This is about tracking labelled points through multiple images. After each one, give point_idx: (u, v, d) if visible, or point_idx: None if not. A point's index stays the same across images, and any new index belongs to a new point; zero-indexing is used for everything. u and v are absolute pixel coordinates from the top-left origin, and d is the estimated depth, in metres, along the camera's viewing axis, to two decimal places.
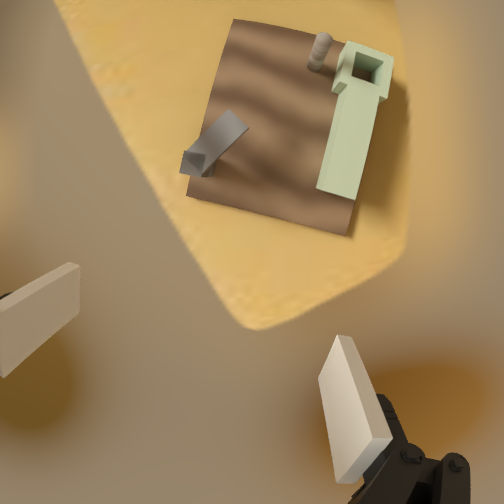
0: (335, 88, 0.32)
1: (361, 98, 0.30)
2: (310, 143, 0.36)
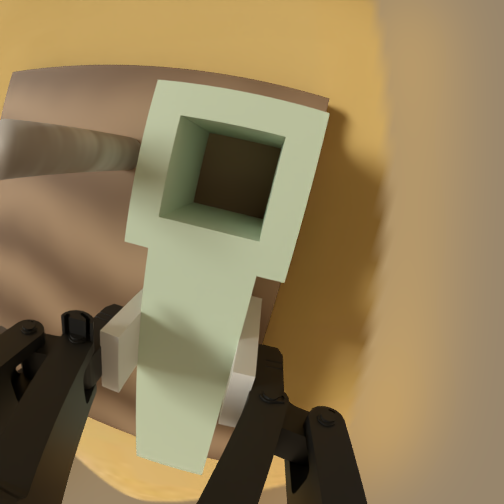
0: None
1: (193, 292, 0.11)
2: None
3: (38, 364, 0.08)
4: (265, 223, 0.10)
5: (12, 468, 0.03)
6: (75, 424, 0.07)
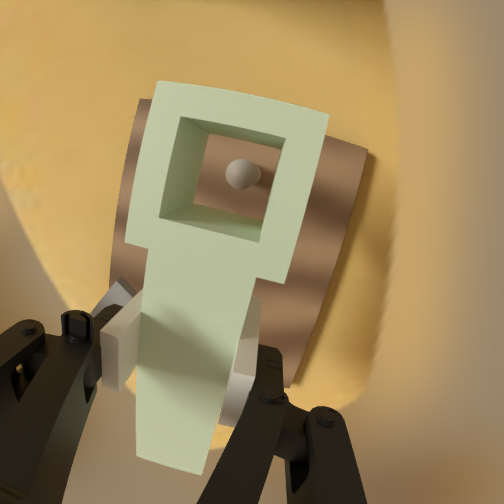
0: None
1: (193, 293, 0.11)
2: None
3: (38, 364, 0.08)
4: (265, 224, 0.10)
5: (12, 468, 0.03)
6: (75, 424, 0.07)
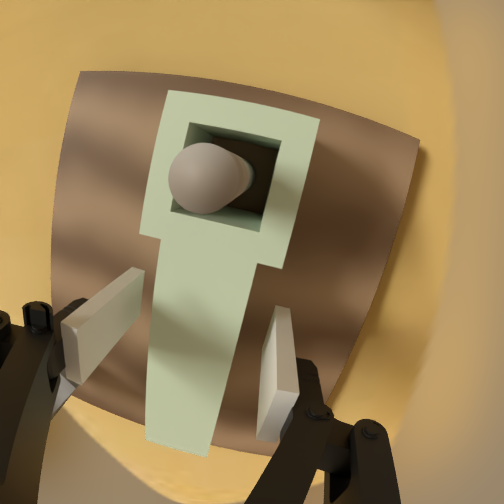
0: None
1: (201, 278, 0.12)
2: None
3: (4, 353, 0.07)
4: (264, 216, 0.12)
5: None
6: (43, 413, 0.07)
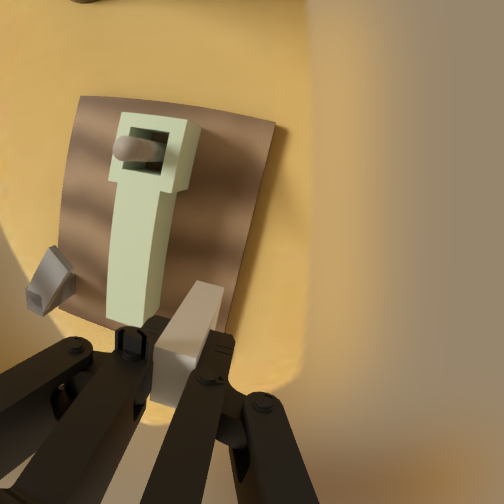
0: None
1: (135, 200, 0.24)
2: None
3: (87, 383, 0.08)
4: (162, 167, 0.23)
5: (45, 486, 0.03)
6: (120, 443, 0.07)
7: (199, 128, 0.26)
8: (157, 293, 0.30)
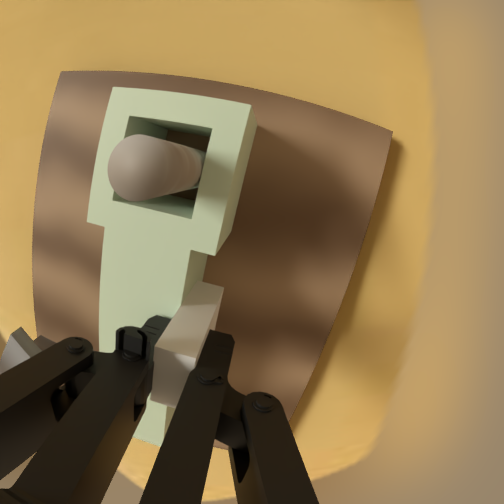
0: None
1: (140, 264, 0.12)
2: None
3: (87, 384, 0.08)
4: (196, 203, 0.11)
5: (46, 486, 0.04)
6: (120, 443, 0.07)
7: (256, 125, 0.15)
8: None
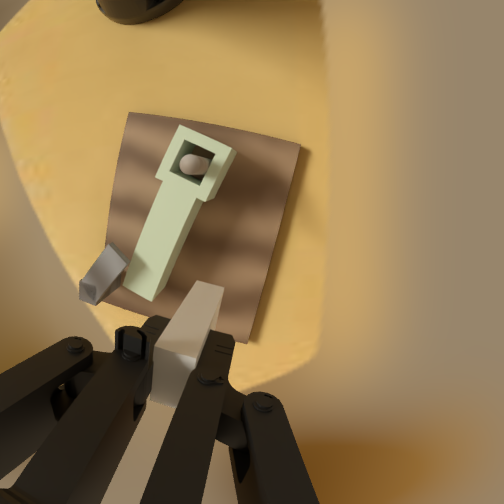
0: None
1: (174, 199, 0.30)
2: (206, 257, 0.37)
3: (87, 383, 0.08)
4: (202, 180, 0.30)
5: (45, 486, 0.03)
6: (120, 443, 0.07)
7: (236, 152, 0.33)
8: (168, 275, 0.36)
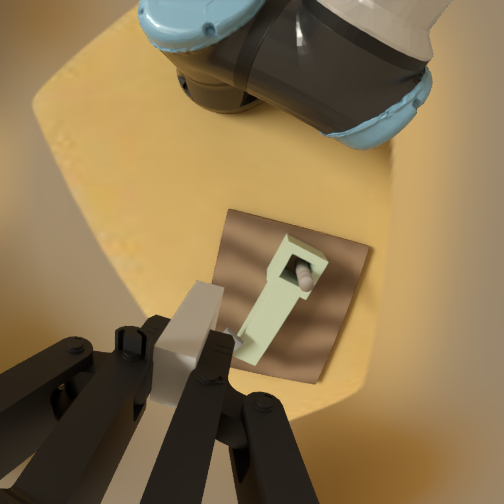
0: (267, 273, 0.43)
1: (281, 297, 0.41)
2: (292, 328, 0.47)
3: (87, 383, 0.08)
4: None
5: (45, 486, 0.03)
6: (119, 443, 0.07)
7: (322, 254, 0.43)
8: None
